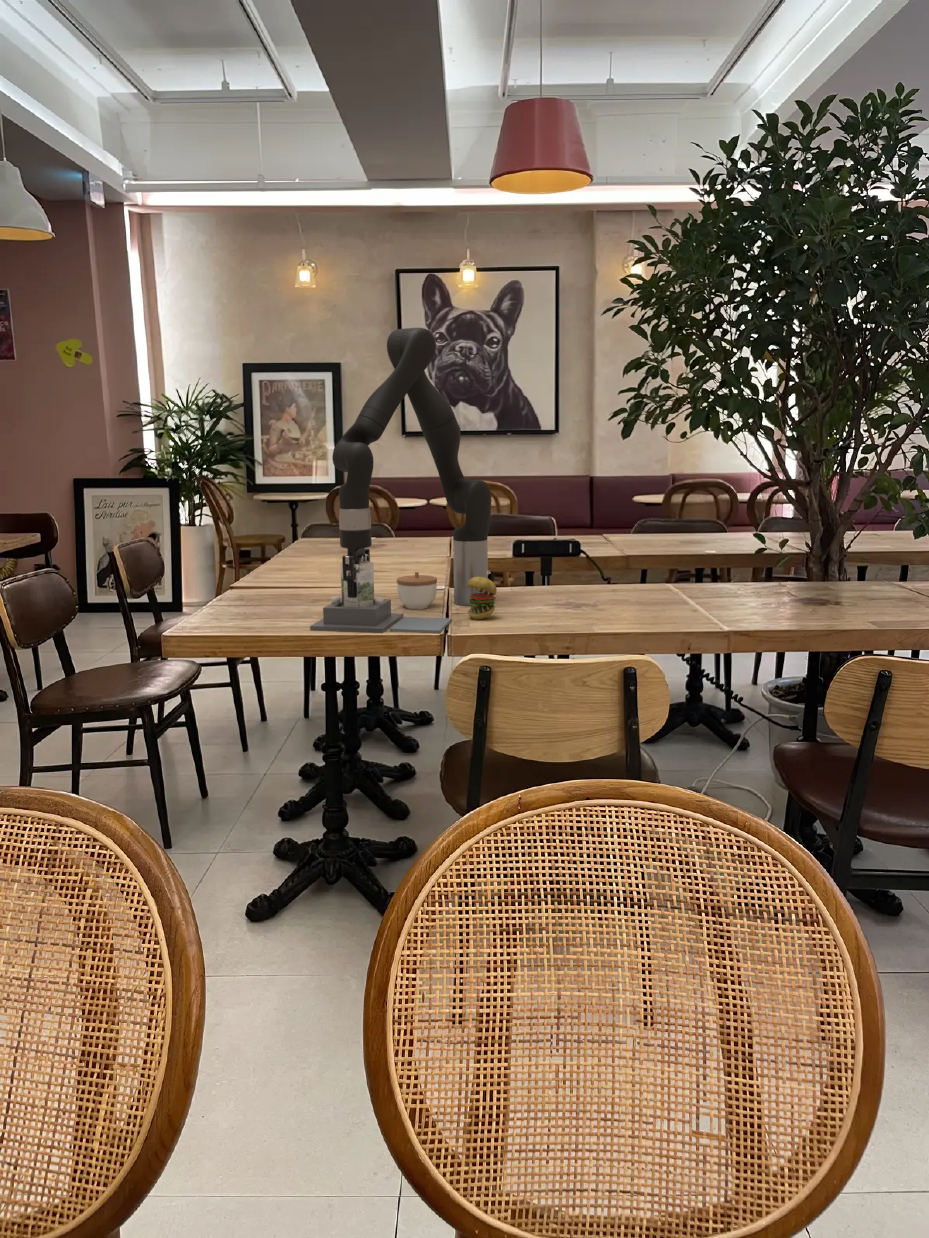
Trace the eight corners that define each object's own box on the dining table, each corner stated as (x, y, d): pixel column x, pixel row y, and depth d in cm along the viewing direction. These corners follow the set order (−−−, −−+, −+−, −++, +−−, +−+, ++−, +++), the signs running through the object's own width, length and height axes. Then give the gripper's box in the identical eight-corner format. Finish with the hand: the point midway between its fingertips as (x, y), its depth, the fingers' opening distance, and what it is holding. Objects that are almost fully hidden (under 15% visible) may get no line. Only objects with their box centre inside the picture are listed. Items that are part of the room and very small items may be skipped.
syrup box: (358, 617, 225) (356, 559, 222) (375, 619, 221) (373, 561, 218) (341, 620, 220) (339, 562, 217) (358, 624, 217) (356, 564, 214)
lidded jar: (389, 608, 239) (388, 573, 237) (410, 602, 248) (409, 568, 246) (424, 612, 234) (423, 576, 232) (444, 605, 243) (444, 570, 241)
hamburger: (460, 618, 226) (460, 570, 224) (481, 613, 231) (480, 567, 229) (482, 622, 221) (482, 574, 218) (503, 618, 226) (503, 570, 223)
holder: (335, 615, 231) (334, 590, 230) (403, 617, 227) (403, 592, 226) (310, 630, 214) (308, 603, 212) (383, 632, 210) (382, 605, 209)
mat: (405, 619, 225) (405, 616, 225) (452, 620, 223) (452, 618, 223) (389, 631, 212) (389, 628, 212) (439, 633, 210) (439, 630, 209)
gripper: (361, 530, 208) (363, 600, 212) (379, 524, 222) (381, 589, 225) (330, 530, 210) (333, 599, 213) (349, 523, 223) (352, 589, 227)
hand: (357, 594), depth 219 cm, fingers closed on syrup box, 7 cm apart
